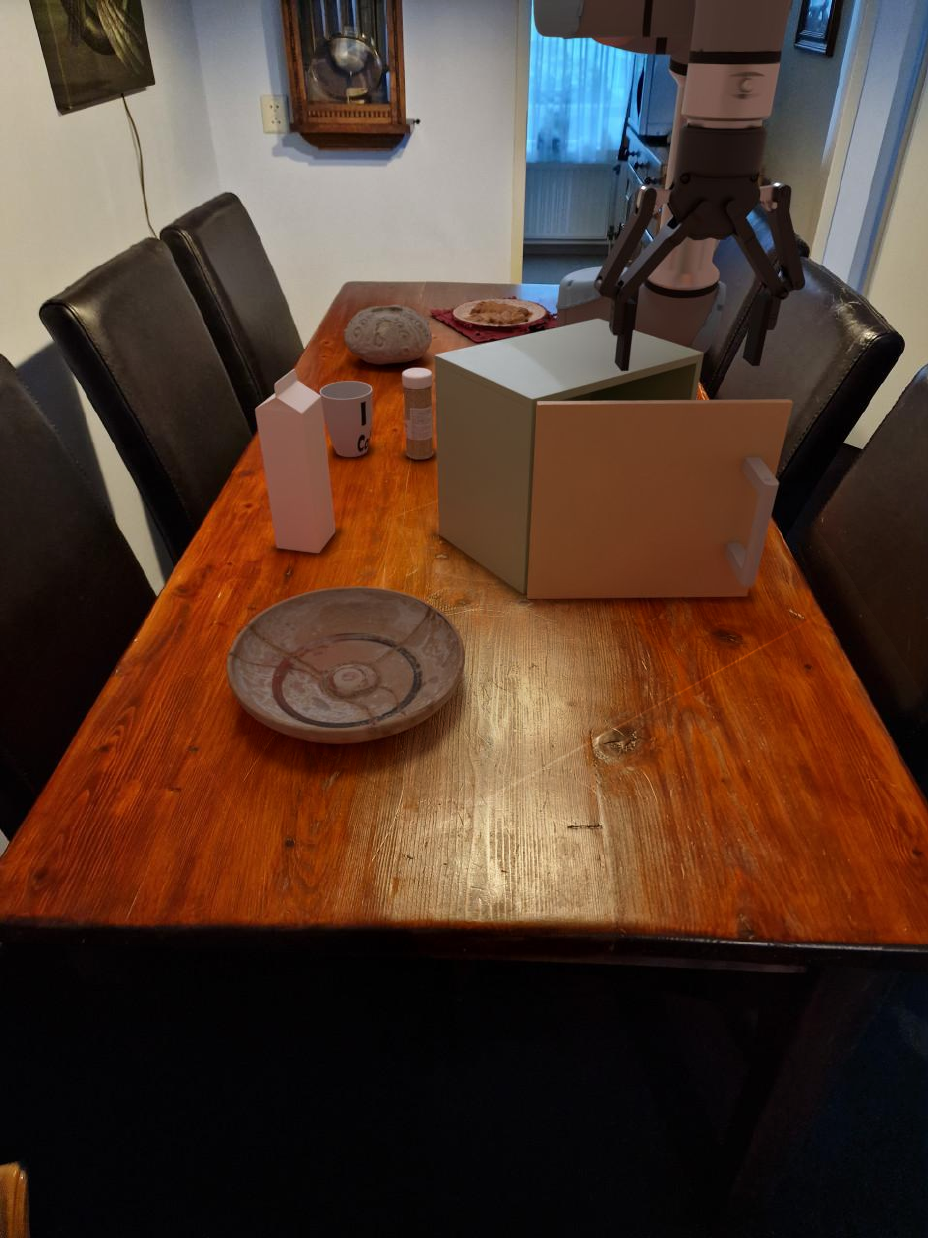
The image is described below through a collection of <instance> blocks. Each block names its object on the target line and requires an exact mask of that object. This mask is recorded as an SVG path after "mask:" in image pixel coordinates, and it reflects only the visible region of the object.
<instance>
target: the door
mask: <svg viewBox="0 0 928 1238" xmlns="http://www.w3.org/2000/svg"><path fill="white" fill-rule="evenodd" d="M793 405H794V402H793V401H792V400H791V399H790V398H785V399H784V398H779V399H778V398H776V399H775V398H774V399H773V398H772V399H771V398H770V399H769V398H768V399H765V398H763V399H760V398H759V399H756V398H755V399H696V400H638V401H537V406H536V426H535V445H534V465H533V485H532V505H531V525H530V544H529V564H528V584H527V593H526V597H527V599H528V600H549V599H550V600H556V599H557V600H561V599H566V600H567V599H569V600H571V599H574V600H575V599H644V598H645V599H646V598H647V599H648V598H649V599H650V598H652V599H653V598H654V599H655V598H657V599H658V598H733V597H734V598H739V597H741V598H743V597H744V598H745V597H748V593H749V589H750V588H751V587H754V586H755V584H756V580H757V575H758V572H759V567H760V564H761V559H762V556H763V552H764V547H765V543H766V539H767V535H768V531H769V526H770V523H771V517H772V513H773V510H774V506H775V502H776V501H775V500H776V497H777V493H778V489H779V485H780V482H779V480H778V479H777V478H776V476H777V472H778V468H779V464H780V460H781V456H782V455H781V454H782V451H783V450H782V449H783V448H784V447H783V446H784V442H785V439H786V435H787V429H788V426H789V421H790V417H791V413H792V408H793Z"/></svg>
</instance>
